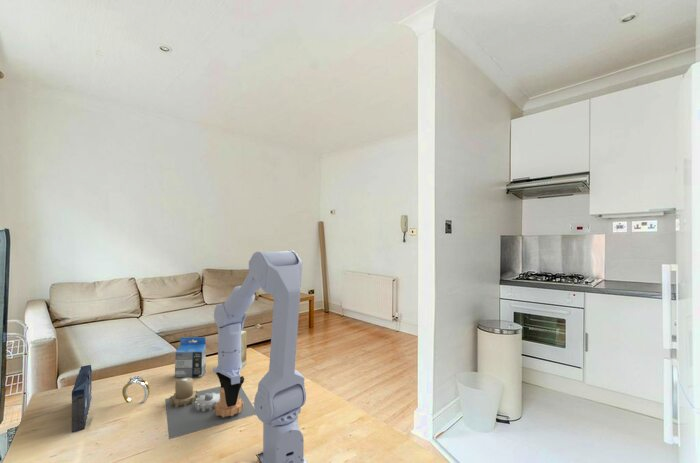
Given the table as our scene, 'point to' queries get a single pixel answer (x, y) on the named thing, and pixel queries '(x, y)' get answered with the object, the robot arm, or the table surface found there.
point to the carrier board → (198, 409)
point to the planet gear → (227, 411)
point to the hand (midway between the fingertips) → (229, 401)
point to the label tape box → (190, 357)
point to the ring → (139, 381)
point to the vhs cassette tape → (81, 398)
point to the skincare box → (243, 347)
